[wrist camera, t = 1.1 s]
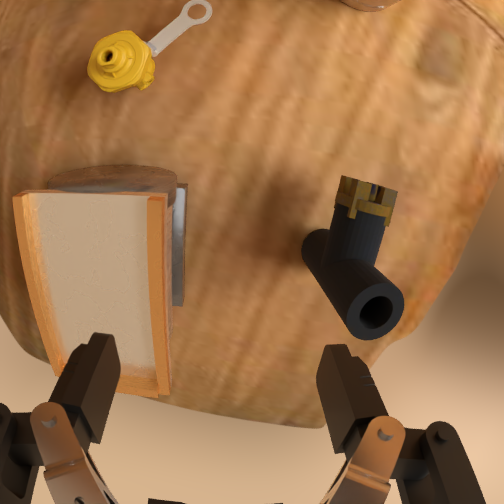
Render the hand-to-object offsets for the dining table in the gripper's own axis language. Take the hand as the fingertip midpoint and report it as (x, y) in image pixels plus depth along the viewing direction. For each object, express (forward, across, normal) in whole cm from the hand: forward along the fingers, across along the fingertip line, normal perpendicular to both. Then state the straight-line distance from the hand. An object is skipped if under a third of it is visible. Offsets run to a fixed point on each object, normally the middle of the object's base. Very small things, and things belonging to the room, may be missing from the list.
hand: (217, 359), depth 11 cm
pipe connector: (+25, -12, +3) cm, 28 cm away
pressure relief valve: (+25, +7, -15) cm, 30 cm away
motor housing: (+24, +10, +6) cm, 27 cm away
